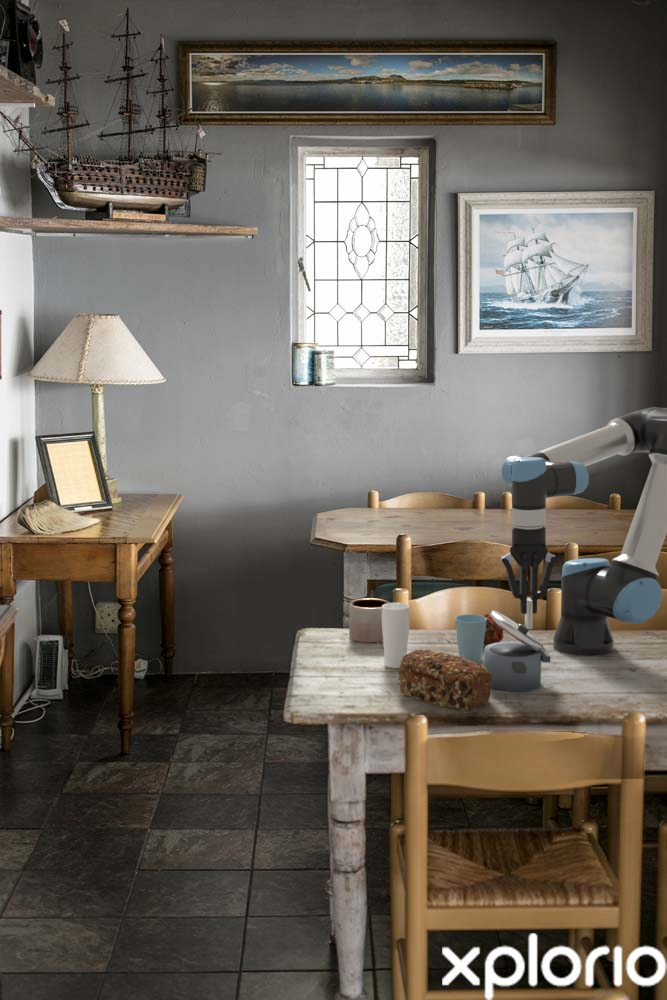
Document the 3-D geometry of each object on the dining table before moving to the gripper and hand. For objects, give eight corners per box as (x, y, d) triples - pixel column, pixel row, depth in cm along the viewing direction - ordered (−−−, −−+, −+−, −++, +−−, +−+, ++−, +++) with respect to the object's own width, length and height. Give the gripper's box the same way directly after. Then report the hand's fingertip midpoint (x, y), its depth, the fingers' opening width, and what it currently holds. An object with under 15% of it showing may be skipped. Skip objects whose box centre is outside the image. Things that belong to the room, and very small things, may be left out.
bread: (396, 696, 251) (397, 653, 250) (424, 684, 259) (424, 642, 258) (467, 714, 240) (468, 669, 238) (493, 701, 248) (494, 657, 246)
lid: (535, 641, 265) (541, 633, 265) (547, 659, 251) (553, 650, 251) (485, 608, 263) (491, 600, 263) (494, 624, 250) (501, 616, 249)
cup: (454, 663, 275) (454, 621, 273) (455, 653, 282) (455, 613, 280) (485, 664, 274) (486, 622, 272) (485, 655, 281) (486, 614, 279)
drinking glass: (407, 670, 269) (407, 610, 266) (379, 669, 270) (379, 608, 268) (411, 662, 275) (411, 603, 273) (383, 660, 276) (383, 601, 274)
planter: (391, 644, 291) (391, 608, 289) (349, 644, 291) (349, 608, 289) (389, 632, 301) (389, 597, 300) (349, 632, 302) (349, 598, 300)
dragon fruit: (490, 657, 284) (479, 650, 296) (516, 636, 285) (503, 630, 297) (470, 631, 284) (459, 625, 295) (496, 610, 284) (484, 605, 296)
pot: (537, 668, 270) (538, 636, 268) (556, 698, 249) (557, 663, 248) (477, 669, 270) (477, 637, 268) (491, 699, 249) (491, 664, 247)
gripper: (553, 522, 257) (552, 621, 261) (497, 523, 257) (498, 623, 261) (560, 528, 250) (559, 630, 253) (503, 529, 249) (503, 632, 253)
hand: (528, 627), depth 257 cm, fingers closed
